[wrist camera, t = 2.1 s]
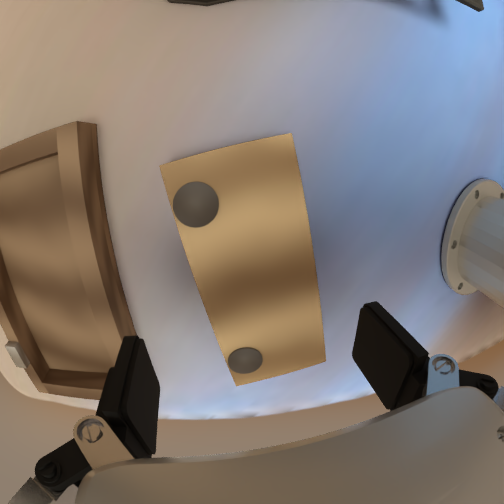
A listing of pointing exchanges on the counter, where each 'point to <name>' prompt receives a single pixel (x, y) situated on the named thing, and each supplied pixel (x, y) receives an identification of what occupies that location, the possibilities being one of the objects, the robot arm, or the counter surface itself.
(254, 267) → the tan rectangular block
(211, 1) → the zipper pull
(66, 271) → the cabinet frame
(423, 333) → the counter surface
